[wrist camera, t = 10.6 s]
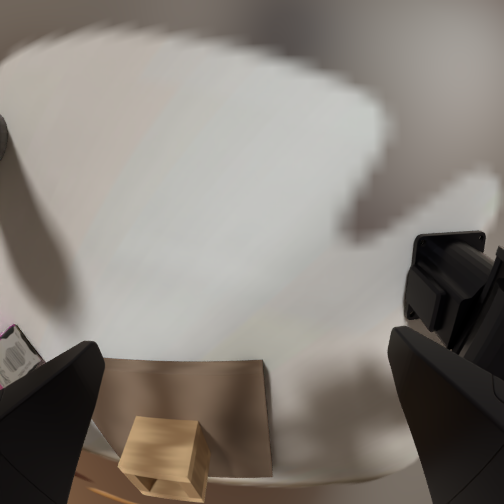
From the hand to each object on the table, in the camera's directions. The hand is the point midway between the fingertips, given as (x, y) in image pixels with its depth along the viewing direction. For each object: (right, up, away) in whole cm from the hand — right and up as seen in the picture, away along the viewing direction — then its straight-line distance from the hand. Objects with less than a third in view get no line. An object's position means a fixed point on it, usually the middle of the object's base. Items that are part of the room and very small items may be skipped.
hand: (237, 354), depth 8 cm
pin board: (-7, -14, +18) cm, 24 cm away
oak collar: (-7, -15, +16) cm, 23 cm away
